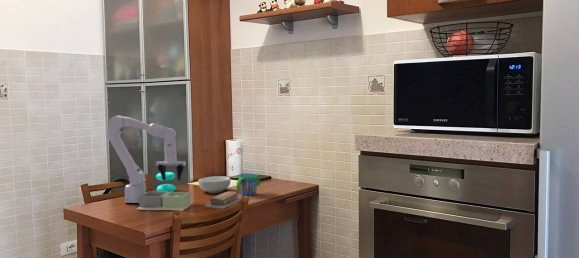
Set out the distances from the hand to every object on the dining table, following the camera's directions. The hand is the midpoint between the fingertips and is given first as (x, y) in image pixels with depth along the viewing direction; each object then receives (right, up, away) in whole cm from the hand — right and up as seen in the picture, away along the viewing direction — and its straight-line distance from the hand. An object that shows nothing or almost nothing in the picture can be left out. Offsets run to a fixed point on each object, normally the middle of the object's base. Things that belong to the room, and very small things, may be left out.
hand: (171, 180), depth 245 cm
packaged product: (+27, -11, -7) cm, 30 cm away
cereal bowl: (+18, -9, +20) cm, 28 cm away
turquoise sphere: (-8, -9, +23) cm, 26 cm away
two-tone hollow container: (0, -12, -12) cm, 17 cm away
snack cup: (+38, -9, +11) cm, 40 cm away
